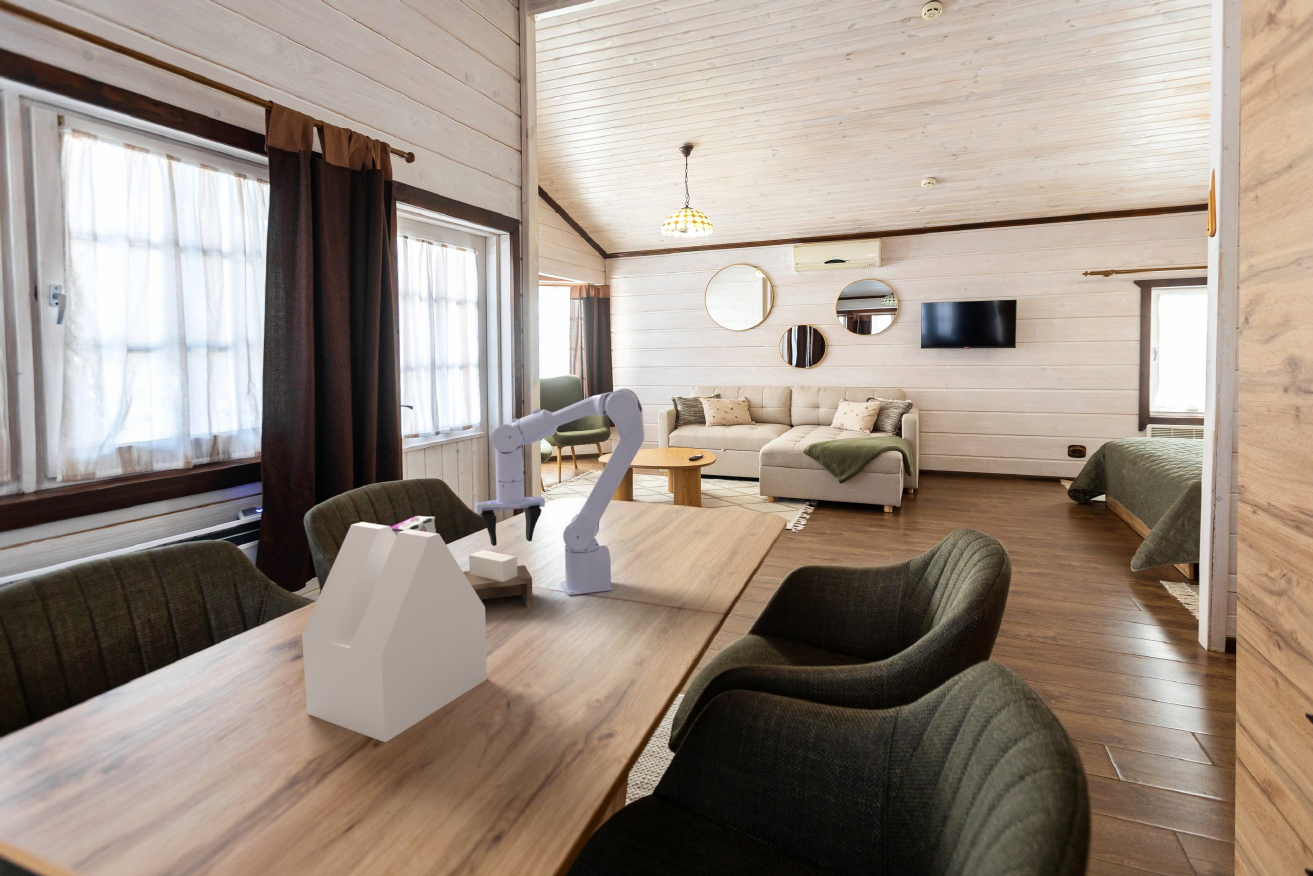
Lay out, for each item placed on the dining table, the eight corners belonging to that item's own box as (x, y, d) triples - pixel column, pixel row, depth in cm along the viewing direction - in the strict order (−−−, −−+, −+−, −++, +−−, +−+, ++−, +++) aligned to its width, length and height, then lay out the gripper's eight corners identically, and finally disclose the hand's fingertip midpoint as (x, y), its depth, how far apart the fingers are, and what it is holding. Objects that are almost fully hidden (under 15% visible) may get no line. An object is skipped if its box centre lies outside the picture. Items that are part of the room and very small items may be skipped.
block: (484, 569, 137) (483, 550, 137) (517, 576, 132) (516, 556, 132) (469, 574, 134) (469, 555, 133) (502, 581, 129) (502, 561, 129)
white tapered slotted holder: (414, 659, 109) (408, 510, 106) (487, 679, 102) (482, 520, 99) (307, 714, 92) (295, 538, 89) (385, 743, 85) (375, 553, 82)
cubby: (525, 592, 140) (524, 565, 140) (532, 607, 132) (532, 577, 131) (456, 601, 135) (455, 572, 135) (459, 616, 127) (458, 586, 126)
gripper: (479, 486, 134) (481, 551, 136) (548, 480, 141) (549, 542, 142) (472, 480, 141) (474, 543, 142) (538, 475, 147) (540, 535, 149)
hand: (511, 542), depth 143 cm, fingers open, 7 cm apart
